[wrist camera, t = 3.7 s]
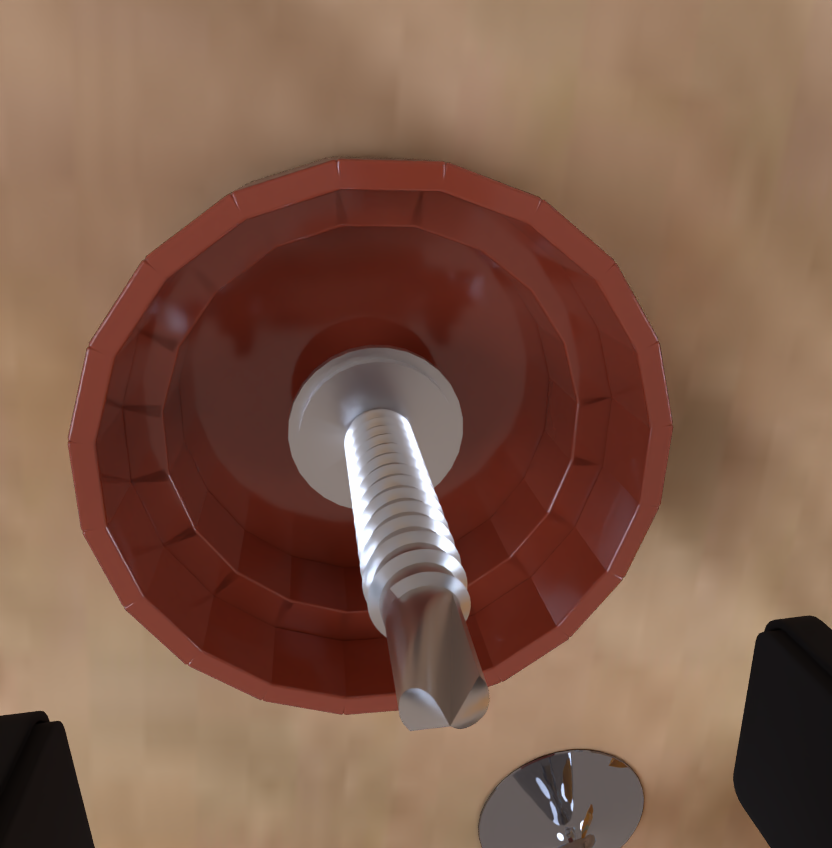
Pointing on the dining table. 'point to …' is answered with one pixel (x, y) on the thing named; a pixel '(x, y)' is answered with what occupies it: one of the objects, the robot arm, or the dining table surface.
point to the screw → (397, 516)
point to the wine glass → (564, 804)
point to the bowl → (310, 347)
